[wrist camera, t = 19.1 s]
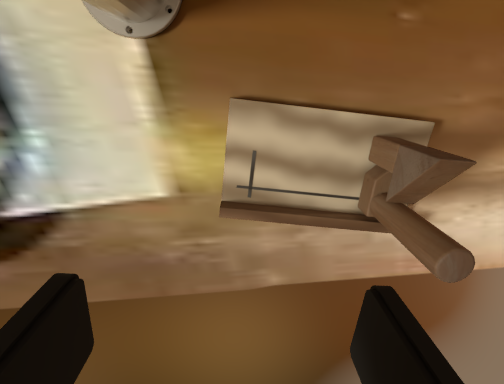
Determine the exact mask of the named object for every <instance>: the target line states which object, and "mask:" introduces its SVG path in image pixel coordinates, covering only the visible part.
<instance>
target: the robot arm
mask: <svg viewBox="0 0 504 384" xmlns="http://www.w3.org/2000/svg"><path fill="white" fill-rule="evenodd" d="M82 2H83V4H84V6H85V7H86V8H87V10H88V11H89V13H90V14H91V15H92V16H93V17H94V18H95V19H96V20H97V21H98V22H99V23H100V24H101V25H103V26H104V27H105V28H107V29H108V30H110V31H112V32H114V33H116V34H118V35H121V36H123V37H127V38H133V39H144V38H148V37H152V36H155V35H157V34H159V33H161V32H162V31H163V30H164V29H166V28H167V27H168V26H169V25H170V24H171V22H172V21H173V20H174V19H175V17H176V15H177V13H178V11H179V9H180V6H181V2H182V0H82ZM170 9H172V13H169V10H170ZM131 29H133V33H130V30H131ZM93 344H94V338H93V332H92V327H91V321H90V315H89V309H88V303H87V297H86V291H85V285H84V281H83V279H79V276H78V275H77V274H66V273H56V274H54V275H53V276H52V277H51V278H50V279H49V280H48V281H47V282H46V283H45V284H44V285H43V286H42V287H41V288H40V289H39V290H38V291H37V292H36V293H35V294H34V295H33V296H32V297H31V298H30V299H29V300H28V301H27V302H26V303H25V304H24V305H23V306H22V308H21V309H20V310H19V311H18V312H17V313H16V314H15V315H14V316H13V317H12V318H11V319H10V320H9V321H8V322H7V323H6V324H5V325H4V326H3V327H2V328H1V329H0V384H74V382H75V381H76V379H77V377H78V375H79V373H80V372H81V370H82V368H83V366H84V364H85V363H86V361H87V359H88V357H89V355H90V354H91V351H92V349H93ZM350 353H351V358H352V360H353V363H354V365H355V368H356V370H357V373H358V375H359V377H360V380H361V383H362V384H464V383H463V382H462V380H461V379H460V378H459V376H458V375H457V373H456V372H455V371H454V370H453V368H452V367H451V365H450V364H449V363H448V361H447V360H446V359H445V357H444V356H443V355H442V353H441V352H440V351H439V349H438V348H437V347H436V345H435V344H434V343H433V341H432V340H431V338H430V337H429V336H428V335H427V333H426V332H425V330H424V329H423V328H422V327H421V325H420V324H419V323H418V321H417V320H416V318H415V317H414V316H413V314H412V313H411V312H410V310H409V309H408V308H407V306H406V305H405V304H404V302H403V301H402V300H401V298H400V297H399V295H398V294H397V293H396V291H395V290H394V289H393V288H392V287H391V286H376V285H375V286H372V287H371V289H370V290H367V291H366V293H365V297H364V300H363V304H362V307H361V311H360V314H359V318H358V321H357V325H356V329H355V332H354V336H353V339H352V343H351V347H350Z"/></svg>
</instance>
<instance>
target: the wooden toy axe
mask: <svg viewBox="0 0 504 384" xmlns="http://www.w3.org/2000/svg"><path fill="white" fill-rule="evenodd" d="M368 160H369V161H371V162H373V163H374V164H376V165H375V166H374V167H373V168H371V169H370V170H369V171H367V172H366V173H365V176H364V180H363V184H362V189H361V193H360V197H359V202H358V208H359V209H360V210H361V211H362V212H363V213H364V214H365V215H366V216H368V217H375V218H376V219H377V220H378V221H379V222H380V223H381V224H382V225H383V226H384V227H385V228H386V229H387V230H388V231H389V232H390V233H392V234H393V235H394V236H395V237H396V238H397V239H398V240H399V241H400V242H401V243H402V244H403V245H404V246H405V247H406V248H407V249H408V250H409V251H410V252H411V253H412V254H413V255H414V256H415V257H416V258H417V259H418V260H419V261H420V262H421V263H422V264H423V265H424V266H425V267H426V268H427V269H428V270H429V271H430V272H431V273H433V274H434V275H435V276H436V277H437V278H438V279H440V280H441V281H444V282H449V283H451V282H457V281H460V280H462V279H464V278H466V277H467V276H468V275H469V274H470V273H471V272H472V270H473V268H474V265H475V259H474V256H473V255H472V253H471V252H470V251H469V250H467V249H466V248H465V247H463V246H462V245H460V244H459V243H458V242H456V241H455V240H453V239H452V238H451V237H449V236H448V235H446V234H445V233H444V232H442V231H441V230H439V229H438V228H437V227H435V226H434V225H432V224H431V223H430V222H428V221H427V220H425V219H424V218H423V217H421V216H420V215H418V214H417V213H416V212H414V211H413V210H411V209H410V208H409V207H407V206H406V205H404V204H403V203H405V204H414V203H416V202H417V201H419V200H420V199H422V198H423V197H425V196H426V195H428V194H430V193H431V192H433V191H434V190H436V189H437V188H439V187H440V186H442V185H444V184H445V183H447V182H448V181H450V180H451V179H453V178H454V177H456V176H458V175H459V174H461V173H462V172H464V171H465V170H467V169H468V168H470V167H472V166H473V165H475V164H476V163H477V162H476V161H473V160H470V159H466V158H463V157H460V156H457V155H453V154H450V153H447V152H443V151H440V150H437V149H434V148H430V147H426V146H424V145H420V144H417V143H414V142H411V141H407V140H404V139H401V138H397V137H388V136H374V137H373V140H372V144H371V149H370V153H369V158H368Z"/></svg>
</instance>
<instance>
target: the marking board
mask: <svg viewBox="0 0 504 384" xmlns="http://www.w3.org/2000/svg"><path fill="white" fill-rule="evenodd" d="M434 124H435V123H434V122H428V121H421V120H413V119H404V118H396V117H387V116H379V115H370V114H362V113H354V112H345V111H337V110H328V109H320V108H312V107H303V106H295V105H286V104H278V103H270V102H261V101H253V100H244V99H236V98H230V104H229V116H228V129H227V141H226V153H225V165H224V177H223V189H222V201H221V206H220V215H219V217H222V218H232V219H243V220H254V221H264V222H275V223H286V224H296V225H307V226H318V227H328V228H339V229H350V230H360V231H371V232H382V233H390V232H389V231H388V230H387V229H386V228H385V227H384V226H383V225H382V224H381V223H380V222H379V221H378V220H377V219H376V218H375V217H368V216H366V215H365V214H364V213H363V212H362V211H361V210H360V209H359V208H358V202H359V197H360V193H361V189H362V184H363V180H364V176H365V173H366V172H367V171H369V170H370V169H371V168H373V167H374V166H375V165H376V164H374V163H373V162H371V161H369V160H368V158H369V153H370V149H371V144H372V140H373V137H374V136H388V137H397V138H401V139H404V140H407V141H411V142H414V143H417V144H420V145H424V146H426V147H427V145H428V142H429V139H430V136H431V133H432V130H433V127H434ZM403 204H404V205H406V206H408V204H405V203H403Z"/></svg>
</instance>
